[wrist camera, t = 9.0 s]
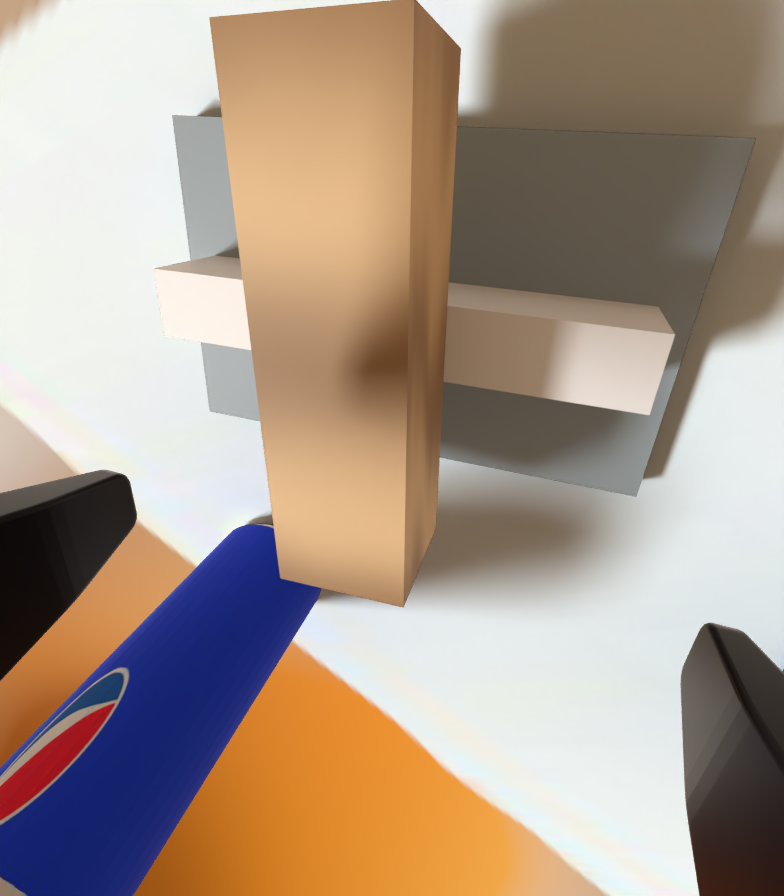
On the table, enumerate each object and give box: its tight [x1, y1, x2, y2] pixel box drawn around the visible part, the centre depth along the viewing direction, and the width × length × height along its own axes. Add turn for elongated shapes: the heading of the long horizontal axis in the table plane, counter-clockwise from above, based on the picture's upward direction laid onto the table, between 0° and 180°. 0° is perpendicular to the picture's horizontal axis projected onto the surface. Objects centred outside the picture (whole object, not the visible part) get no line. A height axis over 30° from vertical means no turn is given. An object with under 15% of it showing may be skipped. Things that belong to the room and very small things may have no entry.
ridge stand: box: [154, 115, 756, 497], centre depth 16 cm, size 10×16×4 cm, turn 86°
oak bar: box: [209, 0, 461, 607], centre depth 12 cm, size 12×4×4 cm, turn 179°
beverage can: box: [0, 524, 321, 896], centre depth 19 cm, size 5×5×15 cm
